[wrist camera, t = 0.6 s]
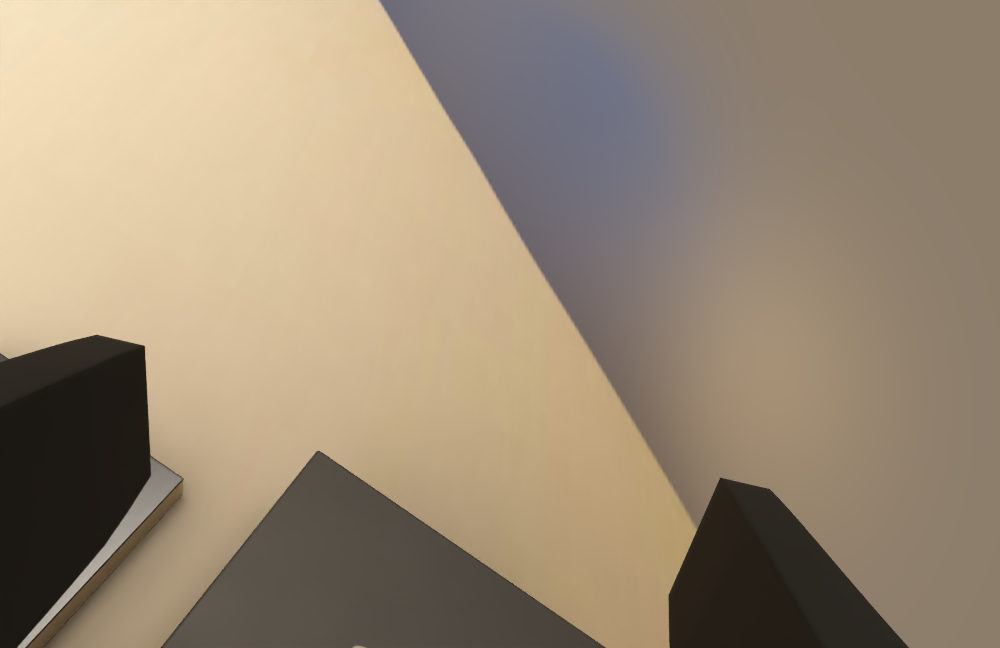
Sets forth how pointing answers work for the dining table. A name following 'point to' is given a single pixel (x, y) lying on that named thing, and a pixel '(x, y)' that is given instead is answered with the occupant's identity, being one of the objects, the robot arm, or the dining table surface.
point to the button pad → (112, 549)
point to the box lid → (361, 581)
